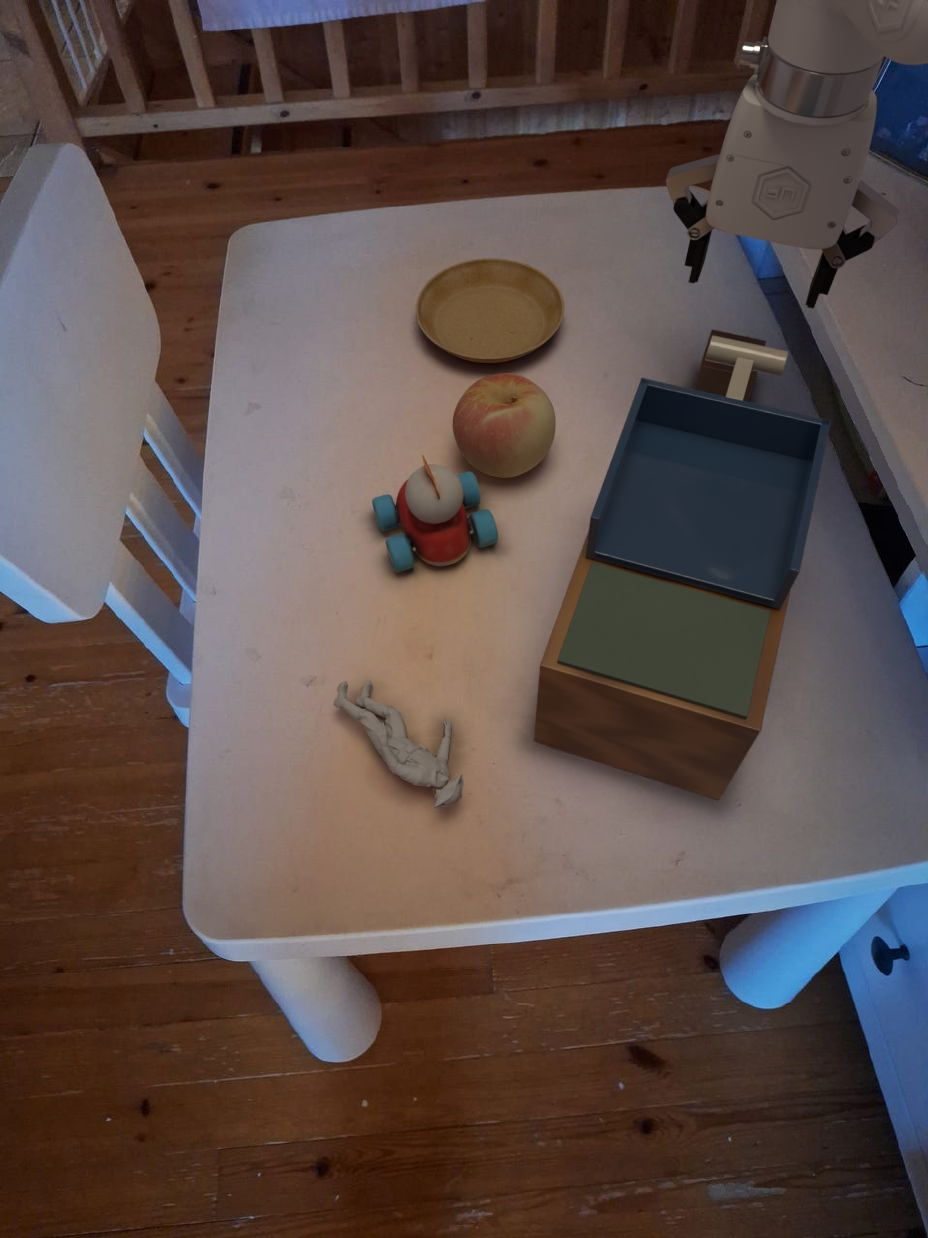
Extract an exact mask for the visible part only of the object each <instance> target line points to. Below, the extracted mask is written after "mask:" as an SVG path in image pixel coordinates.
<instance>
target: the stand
mask: <svg viewBox="0 0 928 1238" xmlns="http://www.w3.org/2000/svg"><path fill="white" fill-rule="evenodd" d="M588 532H589V530H588ZM588 532H587V534H586V537H585V539H584V542H583V545H582V548H581V551H580V553H579V556H578V559H577V562H576V563H575V567H574V570H573V571H572V572H573V573H572V574H571V575H572V576H571V578H570V581H569V584H568V586H567V589H566V592H565V595H564V597H563V601H562V603H561V606H560V608H559V611H558V614H557V616H556V619H555V623H554V625H553V627H552V631H551V633H550V635H549V639H548V641H547V644H546V647H545V650H544V653H543V656H542V658H541V661H540V664H539V671H538V673H539V674H538V683H537V694H536V695H537V696H536V706H535V707H536V709H535V718H534V730H533V742H535V743H538V744H540V745H544V746H547V747H551V748H554V749H556V750H560V751H563V752H566V753H569V754H573V755H575V756H579V757H581V758H585V759H588V760H591V761H595V762H598V763H600V764H604V765H607V766H609V767H612V768H616V769H619V770H623V771H626V772H629V773H633V774H636V775H639V776H641V777H644V778H649V779H651V780H654V781H658V782H660V783H663V784H666V785H670V786H672V787H676V788H679V789H682V790H686V791H689V792H692V793H694V794H698V795H701V796H705V797H707V798H711V799H713V800H717V801H720V800H721V798H722V796H723V794H724V793H725V791H726V790H727V788H728V786H729V785H730V783H731V781H732V780H733V778H734V777H735V775H736V773H737V772H738V770H739V768H740V766H741V765H742V763H743V761H744V760H745V758H746V756H747V755H748V753H749V752H750V749H751V748H752V746H753V745H754V742H755V741H756V739H757V738H758V736H759V735H760V733H761V731H762V727H763V722H764V718H765V714H766V707H767V704H768V699H769V695H770V694H769V693H770V689H771V684H772V680H773V675H774V670H775V665H776V662H777V661H776V660H777V656H778V651H779V647H780V642H781V637H782V632H783V628H784V622H785V618H786V614H787V610H788V609H787V608H788V603H789V600H790V595H791V591H790V592H789V594H788V596H787V598H786V600H785V602H784V603H783V605H782V607H781V609H777V608H773V607H769V606H766V605H762V604H758V603H755V602H751V601H747V600H744V599H740V598H736V597H733V596H729V595H725V594H722V593H718V592H714V591H711V590H707V589H703V588H699V587H696V586H692V585H688V584H685V583H681V582H677V581H674V580H670V579H666V578H663V577H659V576H655V575H652V574H648V573H644V572H641V571H637V570H633V569H629V568H626V567H622V566H618V565H615V564H611V563H607V562H604V561H600V560H596V559H593V558H589V557H586V556H585V553H586V546H587V539H588ZM592 563H596V564H600V565H603V566H607V567H611V568H614V569H618V570H622V571H625V572H629V573H633V574H636V575H640V576H644V577H647V578H651V579H655V580H658V581H662V582H666V583H669V584H673V585H677V586H680V587H684V588H688V589H691V590H695V591H699V592H702V593H706V594H710V595H713V596H717V597H721V598H724V599H728V600H732V601H735V602H739V603H743V604H746V605H750V606H754V607H757V608H761V609H765V610H768V611H770V617H769V621H768V626H767V630H766V635H765V639H764V644H763V648H762V653H761V657H760V662H759V666H758V671H757V675H756V680H755V684H754V689H753V693H752V698H751V702H750V707H749V711H748V716H747V718H746V719H744V718H740V717H737V716H733V715H730V714H727V713H723V712H720V711H717V710H713V709H710V708H707V707H703V706H700V705H697V704H693V703H690V702H687V701H683V700H680V699H676V698H673V697H670V696H666V695H663V694H660V693H656V692H653V691H650V690H646V689H643V688H640V687H636V686H633V685H630V684H626V683H623V682H619V681H616V680H613V679H609V678H606V677H603V676H599V675H596V674H593V673H589V672H586V671H583V670H579V669H576V668H573V667H569V666H566V665H562V664H559V663H557V661H558V657H559V654H560V652H561V649H562V646H563V643H564V640H565V637H566V635H567V632H568V629H569V626H570V623H571V620H572V618H573V615H574V612H575V609H576V606H577V603H578V601H579V598H580V595H581V592H582V589H583V586H584V583H585V581H586V578H587V575H588V572H589V569H590V566H591V564H592Z"/></svg>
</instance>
